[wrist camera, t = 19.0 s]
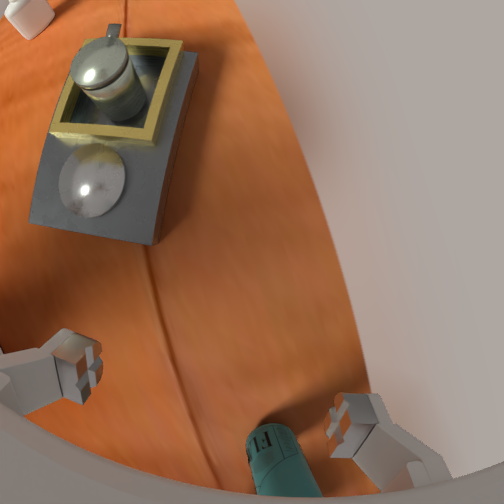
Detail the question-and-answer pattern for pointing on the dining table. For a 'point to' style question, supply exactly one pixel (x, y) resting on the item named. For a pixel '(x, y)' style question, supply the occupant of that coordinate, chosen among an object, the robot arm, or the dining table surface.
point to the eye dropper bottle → (29, 16)
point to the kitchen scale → (116, 151)
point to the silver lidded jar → (109, 76)
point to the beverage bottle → (279, 463)
